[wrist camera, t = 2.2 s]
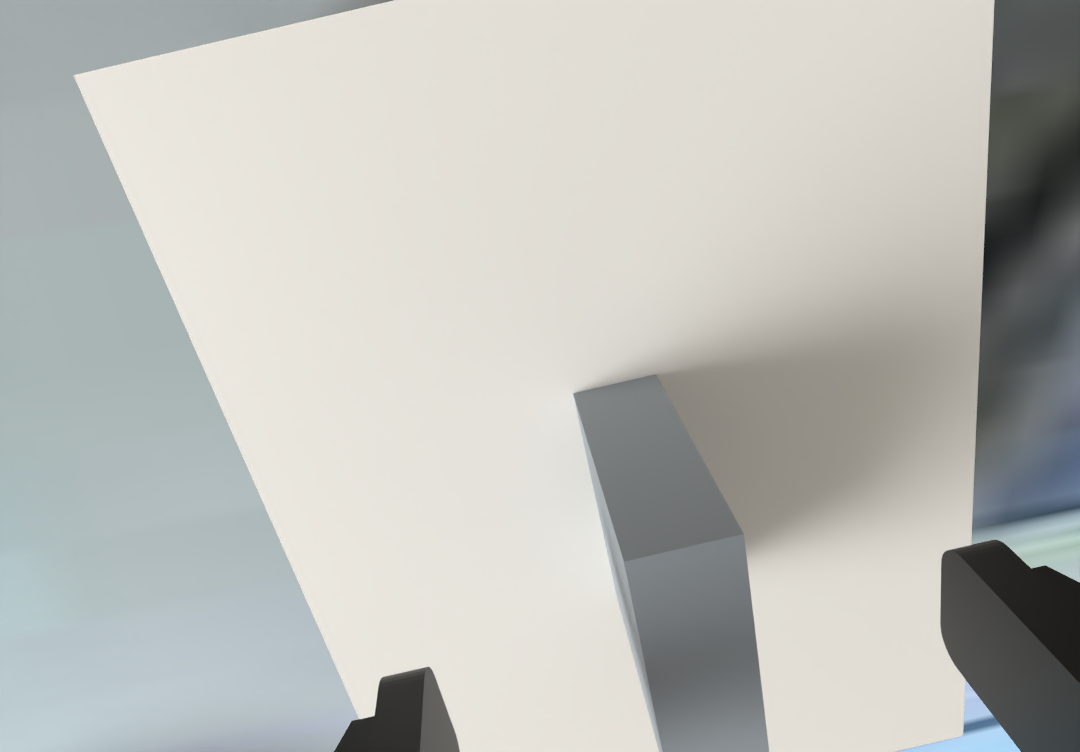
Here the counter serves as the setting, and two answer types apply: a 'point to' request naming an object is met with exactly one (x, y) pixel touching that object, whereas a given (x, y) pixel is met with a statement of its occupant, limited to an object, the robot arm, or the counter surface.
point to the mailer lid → (596, 348)
